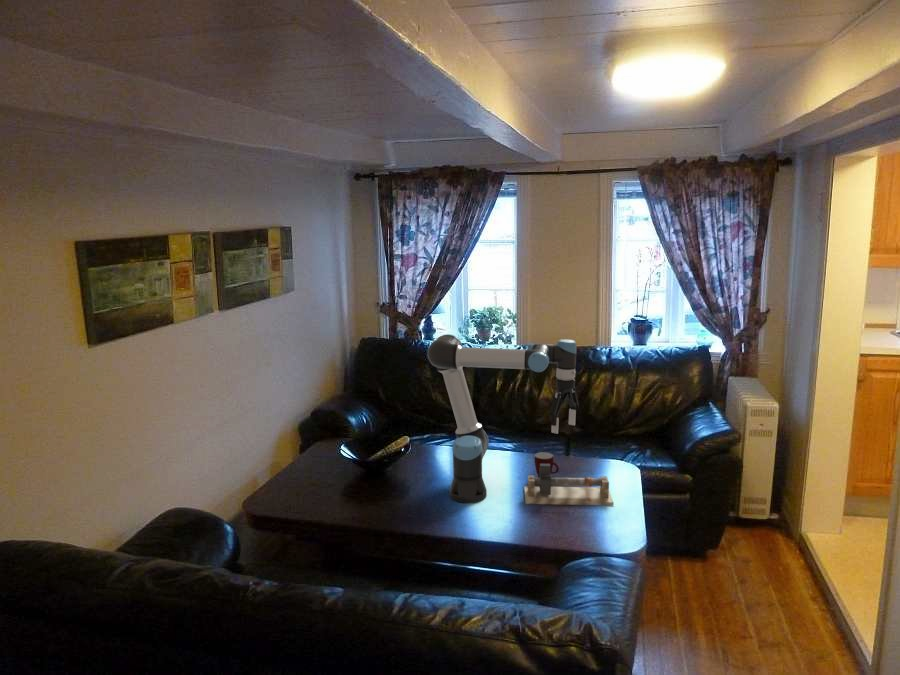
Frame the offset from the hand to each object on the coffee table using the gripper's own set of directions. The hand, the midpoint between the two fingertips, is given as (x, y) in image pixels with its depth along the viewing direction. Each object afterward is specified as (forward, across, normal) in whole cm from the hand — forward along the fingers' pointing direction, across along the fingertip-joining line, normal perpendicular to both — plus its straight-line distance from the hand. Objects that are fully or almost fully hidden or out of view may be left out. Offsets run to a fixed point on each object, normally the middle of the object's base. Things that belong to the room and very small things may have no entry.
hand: (563, 428), depth 258 cm
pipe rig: (+26, -6, -6) cm, 27 cm away
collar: (+23, -11, +1) cm, 26 cm away
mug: (+26, +6, +10) cm, 29 cm away
